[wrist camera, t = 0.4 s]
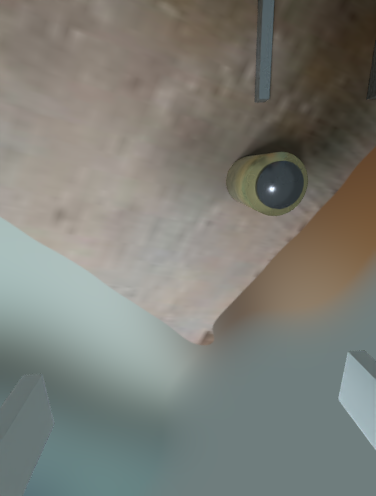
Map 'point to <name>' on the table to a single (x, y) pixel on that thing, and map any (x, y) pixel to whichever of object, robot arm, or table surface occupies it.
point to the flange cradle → (266, 52)
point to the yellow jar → (268, 182)
